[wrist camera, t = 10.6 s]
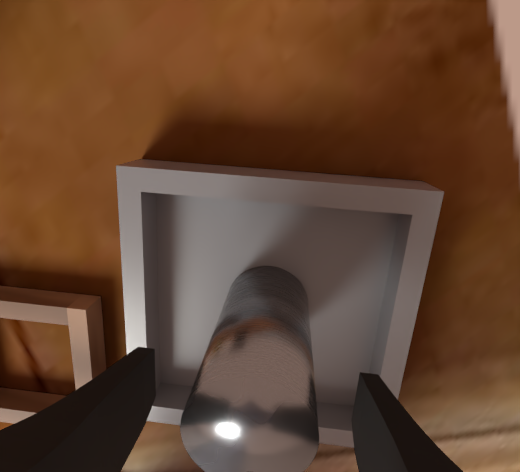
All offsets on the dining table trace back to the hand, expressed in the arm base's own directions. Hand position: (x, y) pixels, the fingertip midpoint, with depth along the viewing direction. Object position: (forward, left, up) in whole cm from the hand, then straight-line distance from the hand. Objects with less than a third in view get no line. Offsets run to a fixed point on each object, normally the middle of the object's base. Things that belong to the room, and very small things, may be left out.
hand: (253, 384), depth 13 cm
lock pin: (0, 0, -6) cm, 6 cm away
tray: (0, 0, -7) cm, 7 cm away
